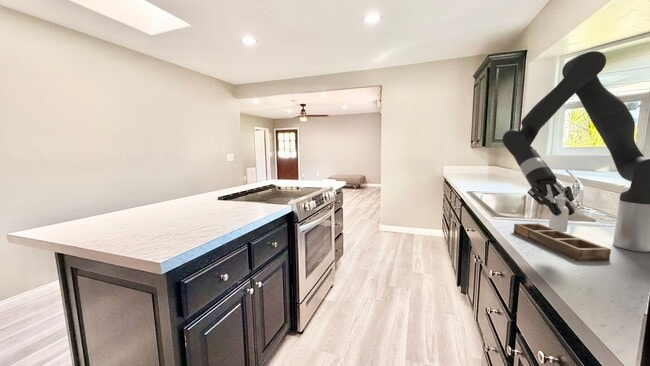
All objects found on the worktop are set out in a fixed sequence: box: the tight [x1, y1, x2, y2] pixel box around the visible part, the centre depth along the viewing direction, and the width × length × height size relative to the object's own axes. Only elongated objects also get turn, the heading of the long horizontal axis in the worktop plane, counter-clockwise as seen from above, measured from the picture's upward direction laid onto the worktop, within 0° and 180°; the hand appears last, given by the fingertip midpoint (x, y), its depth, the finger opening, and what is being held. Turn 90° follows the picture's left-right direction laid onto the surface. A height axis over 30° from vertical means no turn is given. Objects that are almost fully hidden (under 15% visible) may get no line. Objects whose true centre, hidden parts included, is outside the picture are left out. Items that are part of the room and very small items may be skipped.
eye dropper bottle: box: [548, 194, 569, 233], centre depth 85 cm, size 4×6×12 cm
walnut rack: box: [513, 222, 612, 262], centre depth 99 cm, size 11×29×4 cm, turn 1°
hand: (564, 214), depth 83 cm, fingers closed on eye dropper bottle, 3 cm apart
